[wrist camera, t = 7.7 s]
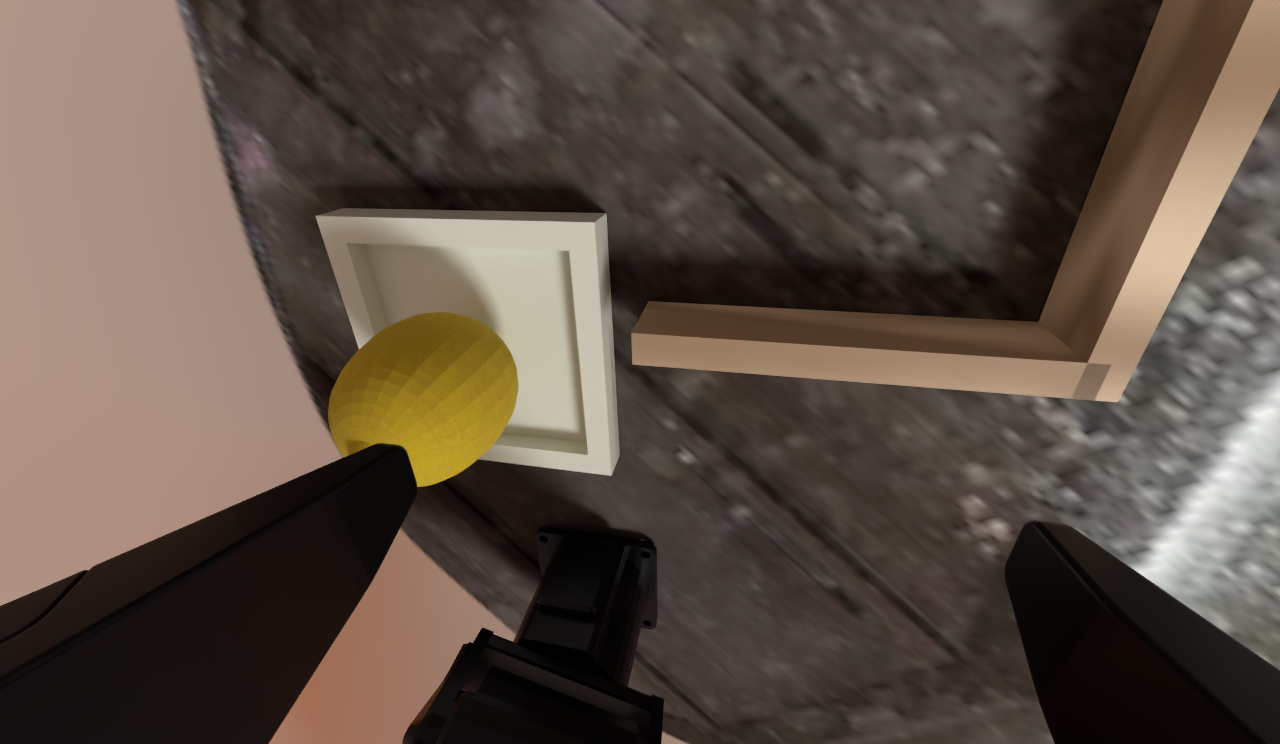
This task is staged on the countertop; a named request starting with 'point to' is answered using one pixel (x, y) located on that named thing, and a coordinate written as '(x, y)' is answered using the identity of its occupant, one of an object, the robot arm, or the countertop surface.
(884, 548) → the countertop surface
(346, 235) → the dish
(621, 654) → the robot arm
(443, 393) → the lemon
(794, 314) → the u-shaped wooden frame
